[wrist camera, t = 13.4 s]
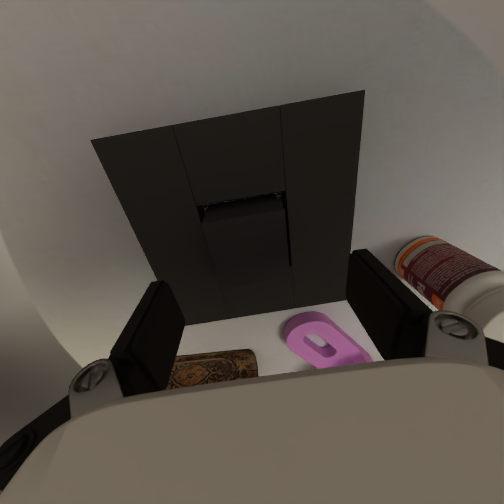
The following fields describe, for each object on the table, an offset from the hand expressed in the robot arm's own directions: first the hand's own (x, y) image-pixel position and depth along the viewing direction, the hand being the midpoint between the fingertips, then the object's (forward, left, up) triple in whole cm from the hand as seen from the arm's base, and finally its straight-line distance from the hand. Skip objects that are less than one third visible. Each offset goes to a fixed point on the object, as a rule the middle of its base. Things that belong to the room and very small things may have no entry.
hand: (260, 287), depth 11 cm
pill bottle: (-16, +6, -8) cm, 19 cm away
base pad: (0, 0, -8) cm, 8 cm away
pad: (0, 0, -8) cm, 8 cm away
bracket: (-7, +17, -8) cm, 20 cm away
